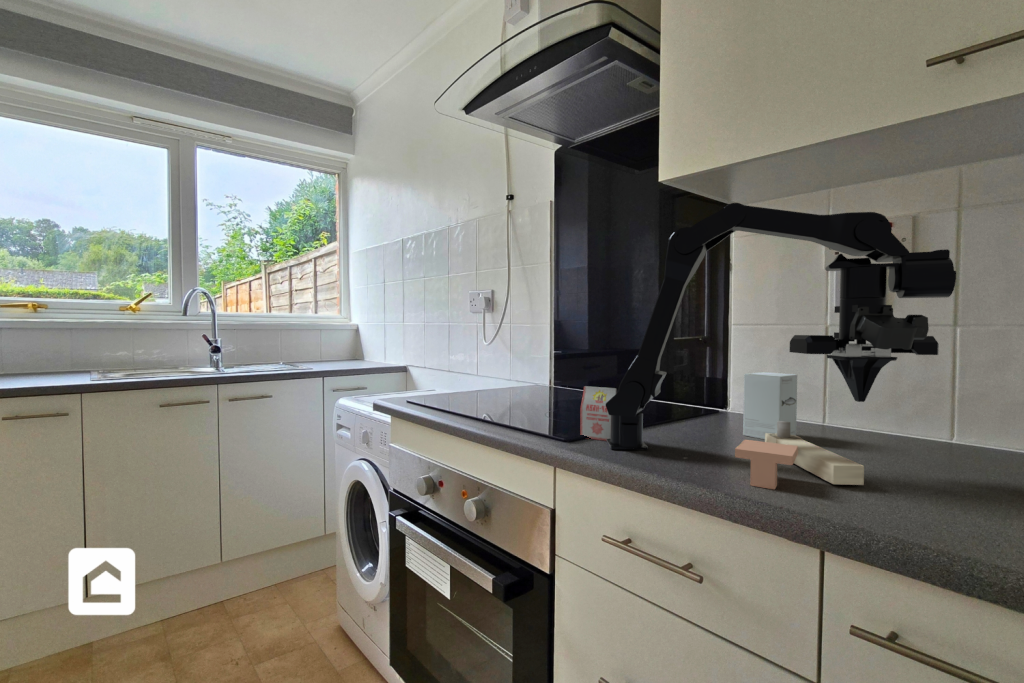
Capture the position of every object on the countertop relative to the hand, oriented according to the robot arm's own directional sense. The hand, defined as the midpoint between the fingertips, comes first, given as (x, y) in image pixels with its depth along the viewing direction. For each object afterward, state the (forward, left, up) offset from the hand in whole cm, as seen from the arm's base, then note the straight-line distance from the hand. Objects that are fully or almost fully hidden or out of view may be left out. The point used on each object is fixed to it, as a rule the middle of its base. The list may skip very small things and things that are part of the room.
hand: (859, 401), depth 76 cm
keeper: (+7, -17, -10) cm, 21 cm away
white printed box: (-20, -37, -11) cm, 43 cm away
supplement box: (-23, -3, -11) cm, 26 cm away
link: (-1, -7, -10) cm, 12 cm away
